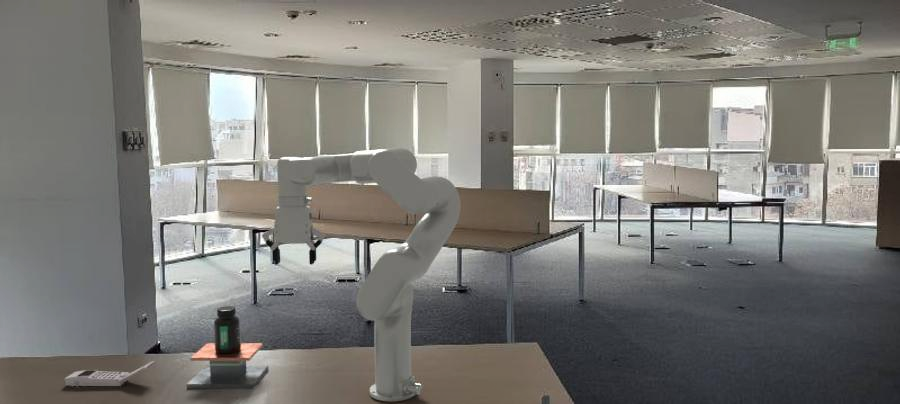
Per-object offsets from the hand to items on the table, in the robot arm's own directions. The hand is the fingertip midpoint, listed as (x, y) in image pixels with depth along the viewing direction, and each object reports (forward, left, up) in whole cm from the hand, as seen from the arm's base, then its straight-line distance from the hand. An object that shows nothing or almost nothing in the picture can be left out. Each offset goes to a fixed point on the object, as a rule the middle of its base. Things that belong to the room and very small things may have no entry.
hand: (294, 263), depth 186 cm
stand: (+15, +12, -32) cm, 38 cm away
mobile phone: (+41, +32, -33) cm, 61 cm away
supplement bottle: (+15, +12, -24) cm, 31 cm away
